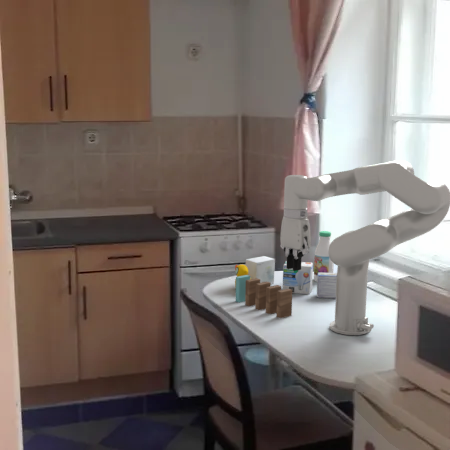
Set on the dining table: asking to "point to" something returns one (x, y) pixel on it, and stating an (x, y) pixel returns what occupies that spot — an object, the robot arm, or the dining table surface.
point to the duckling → (241, 271)
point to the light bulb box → (298, 278)
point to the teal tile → (241, 287)
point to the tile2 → (272, 299)
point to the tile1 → (284, 303)
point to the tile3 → (261, 295)
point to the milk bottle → (323, 255)
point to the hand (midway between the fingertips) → (293, 268)
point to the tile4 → (251, 291)
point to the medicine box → (326, 285)
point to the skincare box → (261, 268)
